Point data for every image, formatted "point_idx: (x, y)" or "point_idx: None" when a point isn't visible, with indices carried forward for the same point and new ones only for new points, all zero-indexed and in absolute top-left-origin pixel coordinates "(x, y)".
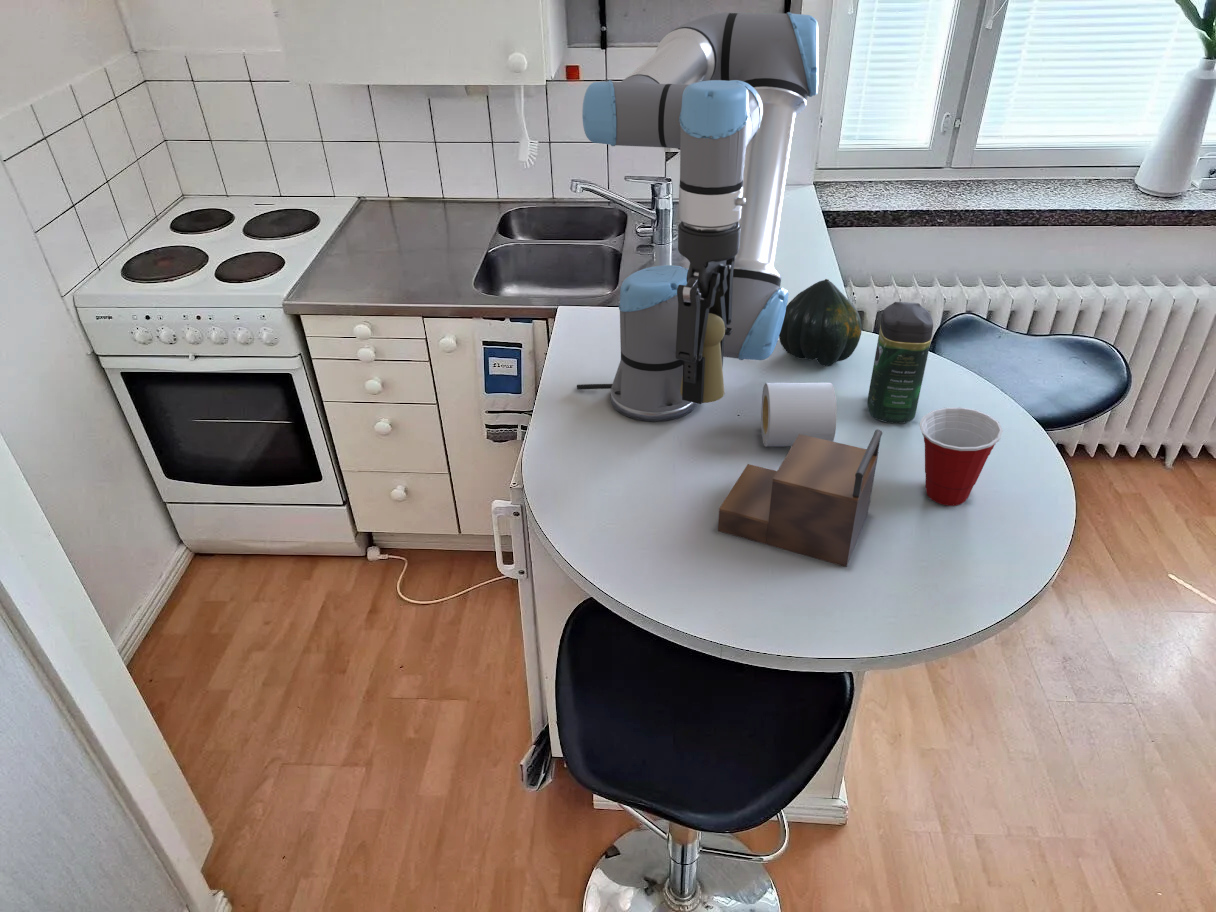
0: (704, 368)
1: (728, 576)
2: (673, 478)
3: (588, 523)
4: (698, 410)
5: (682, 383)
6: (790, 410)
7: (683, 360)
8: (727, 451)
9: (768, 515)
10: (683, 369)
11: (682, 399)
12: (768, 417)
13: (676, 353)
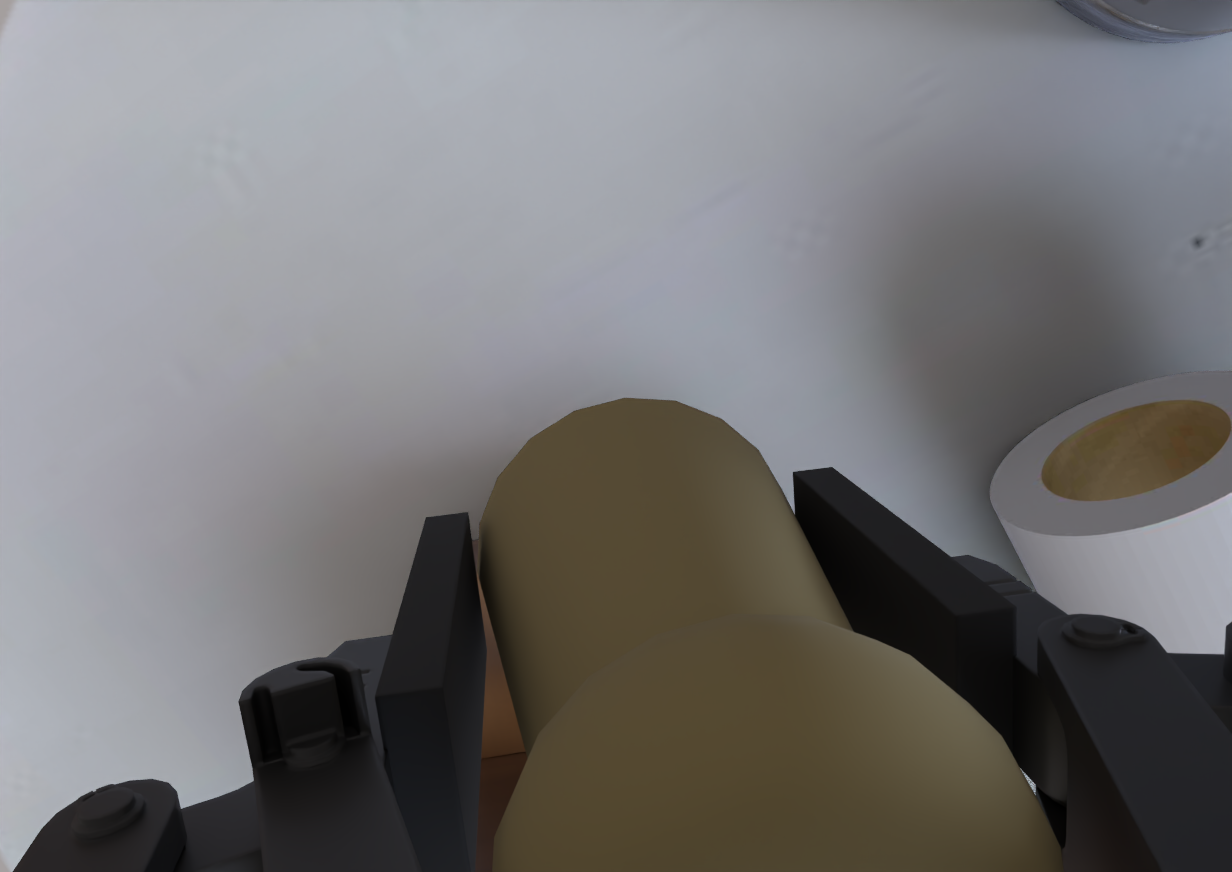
0: (477, 810)
1: (247, 684)
2: (647, 237)
3: (182, 92)
4: (1173, 64)
5: (536, 475)
6: (1123, 610)
7: (382, 672)
8: (925, 332)
9: (494, 747)
10: (395, 628)
11: (427, 520)
12: (1078, 505)
13: (33, 860)
